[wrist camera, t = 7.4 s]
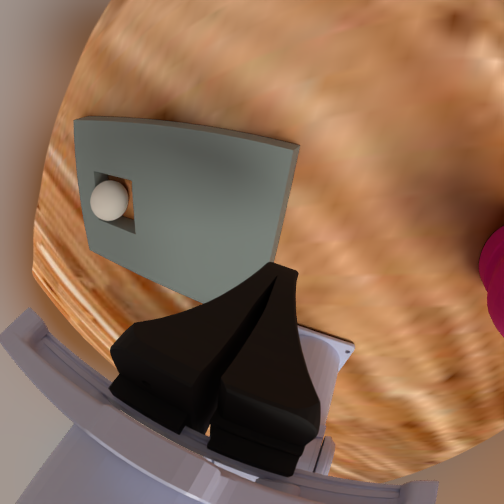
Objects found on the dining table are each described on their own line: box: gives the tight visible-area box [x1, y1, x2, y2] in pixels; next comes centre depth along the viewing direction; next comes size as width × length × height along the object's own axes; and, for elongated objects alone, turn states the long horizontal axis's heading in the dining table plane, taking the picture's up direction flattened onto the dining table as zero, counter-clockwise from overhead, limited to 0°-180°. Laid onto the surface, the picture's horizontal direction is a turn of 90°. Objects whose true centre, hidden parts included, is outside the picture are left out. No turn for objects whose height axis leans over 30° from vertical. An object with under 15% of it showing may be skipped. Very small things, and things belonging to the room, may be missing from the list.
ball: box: [90, 180, 129, 221], centre depth 24 cm, size 4×4×4 cm
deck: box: [74, 116, 300, 304], centre depth 24 cm, size 16×22×2 cm
